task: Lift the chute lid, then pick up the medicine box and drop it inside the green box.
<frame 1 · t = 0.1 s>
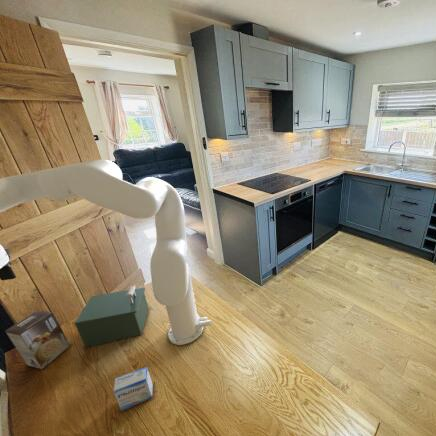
chute lid: (111, 299, 88), point 14 cm above the table, hinge at 0.0°
coffee box: (49, 355, 82), on the table
green box: (120, 326, 93), on the table
medicine box: (138, 397, 70), on the table
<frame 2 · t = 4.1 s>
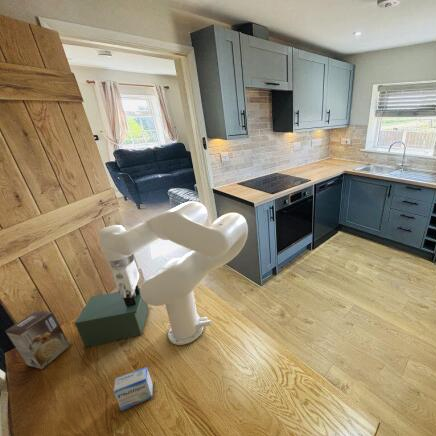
hand: (133, 299, 91), 12 cm above the table, tool pointing down, fingers closed on chute lid, 5 cm apart
chute lid: (111, 299, 88), point 14 cm above the table, hinge at -0.1°, touching gripper
everything else where it was.
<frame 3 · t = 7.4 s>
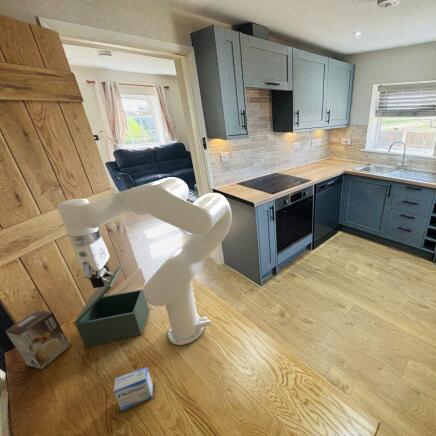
hand: (102, 281, 84), 22 cm above the table, tool pointing down, fingers closed on chute lid, 5 cm apart
chute lid: (93, 289, 84), point 19 cm above the table, hinge at 43.5°, touching gripper
everything else where it was.
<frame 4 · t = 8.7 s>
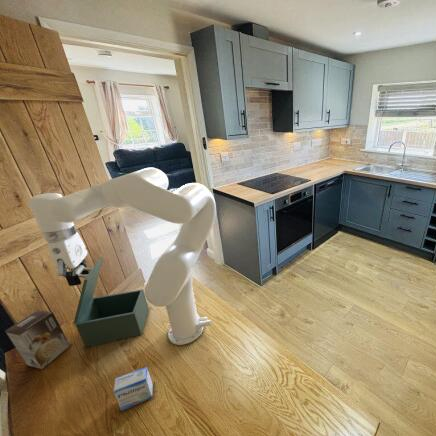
hand: (79, 279, 82), 24 cm above the table, tool pointing down, fingers closed on chute lid, 5 cm apart
chute lid: (80, 288, 83), point 21 cm above the table, hinge at 65.6°, touching gripper
everything else where it was.
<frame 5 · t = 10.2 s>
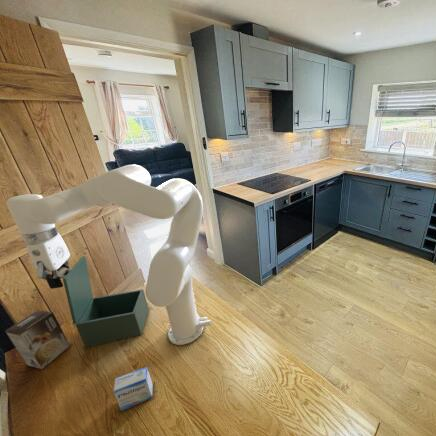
hand: (61, 281, 80), 24 cm above the table, tool pointing down, fingers open, 5 cm apart
chute lid: (70, 289, 82), point 21 cm above the table, hinge at 82.5°
everything else where it was.
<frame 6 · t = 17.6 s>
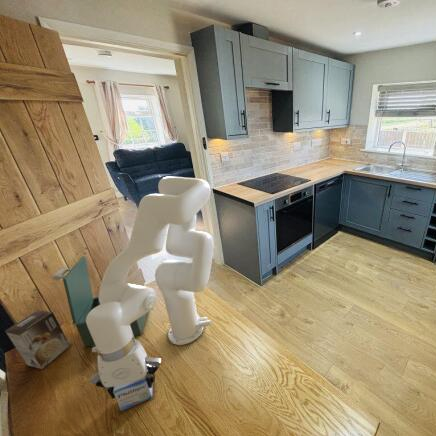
hand: (133, 387, 68), 5 cm above the table, tool pointing down, fingers closed on medicine box, 8 cm apart
medicine box: (137, 397, 70), on the table, touching gripper
everything else where it was.
when the fingers open (16 cm above the table, at t = 24.3 s): medicine box stays where it is, resting on green box.
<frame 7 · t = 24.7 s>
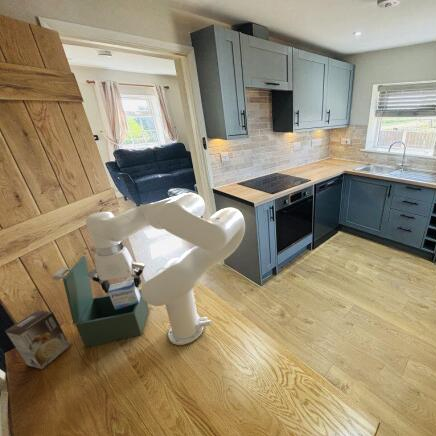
hand: (123, 287, 88), 18 cm above the table, tool pointing down, fingers open, 9 cm apart
medicine box: (128, 303, 91), point 10 cm above the table, touching green box, gripper
everything else where it was.
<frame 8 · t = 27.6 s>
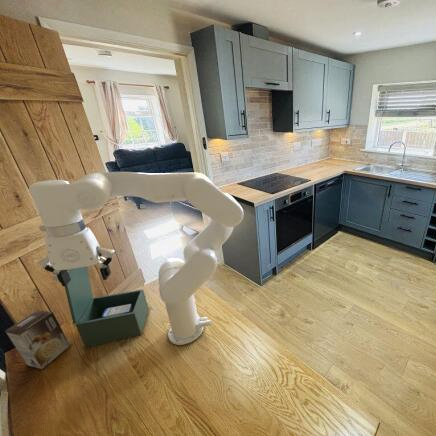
hand: (87, 280, 69), 32 cm above the table, tool pointing down, fingers open, 9 cm apart
medicine box: (133, 314, 93), point 5 cm above the table, touching green box
everything else where it was.
at the end: chute lid at +82° (first picture: +0°); medicine box inside the target area in the green box (5.6 cm from its centre), point 4.8 cm above the green box's base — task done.
